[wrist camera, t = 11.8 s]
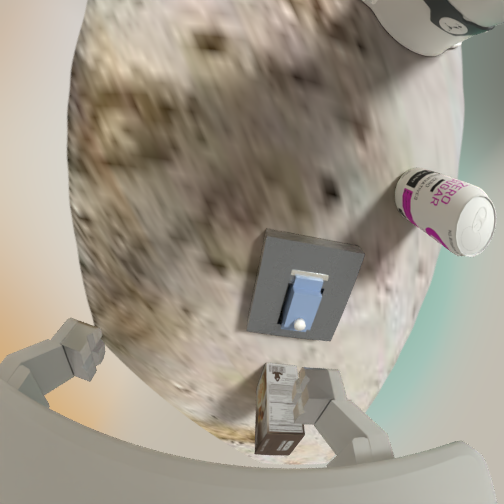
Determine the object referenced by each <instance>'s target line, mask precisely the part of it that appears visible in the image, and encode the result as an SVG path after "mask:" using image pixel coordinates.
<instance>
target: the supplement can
mask: <svg viewBox="0 0 504 504" xmlns="http://www.w3.org/2000/svg"><path fill="white" fill-rule="evenodd" d="M395 203H396V206H397V209H398V211H399V212H400V214H401V215H402V216H403V217H404V218H405V219H407V220H408V221H410V222H411V223H413V224H414V225H416V226H417V227H418V228H420V229H421V230H423V231H424V232H425V233H427V234H428V235H430V236H431V237H432V238H434V239H435V240H436V241H438V242H439V243H440V244H442V245H443V246H444V247H446V248H447V249H448V250H449V251H451V252H452V253H454V254H456V255H457V256H467V257H474V256H476V255H478V254H480V253H481V252H482V251H483V250H484V249H485V248H486V247H487V246H488V244H489V243H490V241H491V240H492V237H493V234H494V231H495V227H496V210H495V207H494V205H493V203H492V201H491V200H490V199H489V197H488V196H487V194H486V193H485V192H484V191H483V190H482V189H481V188H479V187H477V186H474V185H471V184H469V183H466V182H463V181H460V180H458V179H455V178H452V177H449V176H446V175H443V174H440V173H436V172H433V171H430V170H427V169H423V168H413V169H409V170H408V171H407V172H405V173H404V174H403V175H402V176H401V178H400V180H399V181H398V183H397V186H396V190H395Z"/></svg>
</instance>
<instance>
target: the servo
mask: <svg viewBox="0 0 504 504" xmlns="http://www.w3.org/2000/svg"><path fill="white" fill-rule="evenodd" d="M322 285H323V280H320V279H313V278H307V277H301V276H295V279H294V283H293V284H290V283H289V285H288V289H287V292H286V296H285V300H284V303H283V307H282V313H283V321H282V324H281V329H285V330H293V331H301V332H306V330H310V329H311V326H312V323H313V321H314V318H315V315H316V313H317V310H318V307H319V304H320V301H321V298H322V295H321V292H320V291H321V288H322Z"/></svg>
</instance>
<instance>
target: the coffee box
mask: <svg viewBox="0 0 504 504" xmlns="http://www.w3.org/2000/svg"><path fill="white" fill-rule="evenodd" d="M297 379H298V373H297V366H293V365H283V364H274V363H266V364H265V366H264V369H263V372H262V375H261V378H260V380H259V383H258V386H257V389H256V427H255V453H254V454H260V455H290V453H291V452H292V451H293V450H294V448H295V447H296V446H297V444H298V443H299V442H300V441H301V439H302V438H303V437H304V435H305V432H304V424H294V416H293V410H294V408H295V406H296V405H295V404H294V403H293V402H292V390H293V385H294V383H295V381H296V380H297Z"/></svg>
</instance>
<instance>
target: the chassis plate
mask: <svg viewBox="0 0 504 504" xmlns="http://www.w3.org/2000/svg"><path fill="white" fill-rule="evenodd" d="M364 256H365V254H364V252H363V251H362V250H361V249H360V247H359V246H356V245H351V244H346V243H341V242H336V241H331V240H326V239H320V238H315V237H310V236H305V235H299V234H294V233H289V232H283V231H278V230H272V229H267V228H266V233H265V238H264V243H263V248H262V253H261V258H260V262H259V267H258V272H257V277H256V282H255V286H254V291H253V296H252V301H251V305H250V310H249V315H248V320H247V331H249V332H256V333H263V334H270V335H278V336H286V337H294V338H303V339H312V340H322V341H331V339H332V337H333V335H334V332H335V330H336V328H337V326H338V323H339V321H340V319H341V316H342V314H343V311H344V309H345V306H346V304H347V301H348V299H349V296H350V294H351V291H352V289H353V286H354V284H355V281H356V278H357V275H358V273H359V270H360V267H361V264H362V262H363V259H364ZM295 276H301V277H307V278H313V279H320V280H323V285H322V288H321V291H320V292H321V295H322V298H321V301H320V304H319V307H318V310H317V313H316V315H315V318H314V321H313V323H312V326H311V329H310V330H306V332H301V331H293V330H285V329H281V324H282V321H283V313H280V311H281V308H282V304H283V301H284V297H285V294H286V290H287V286H288V283H290V284H293V283H294V279H295Z"/></svg>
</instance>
